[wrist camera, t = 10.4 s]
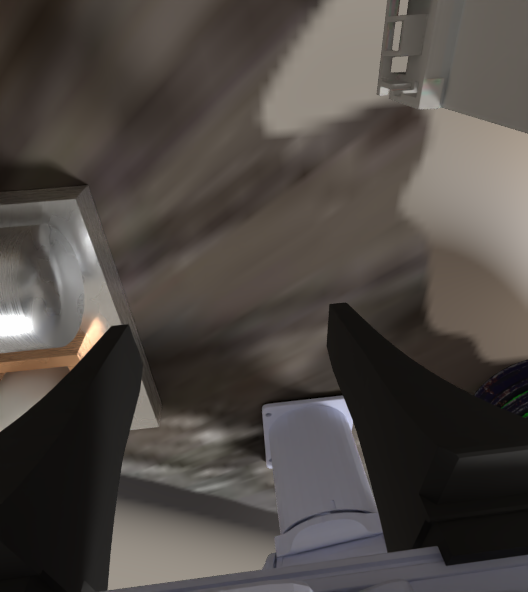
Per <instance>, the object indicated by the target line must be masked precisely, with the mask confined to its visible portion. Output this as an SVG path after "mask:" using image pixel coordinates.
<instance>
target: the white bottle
mask: <svg viewBox="0 0 528 592" xmlns="http://www.w3.org/2000/svg"><path fill="white" fill-rule="evenodd" d="M69 372H70V370H69V368H68V366H64V367H55V368H45V369H35V370H26V371H16V372H7V373H5V375H4V376H3V378H2V379H1V381H0V432H1V431H2V430H3V429H5V428H6V427H7V426H9V425H10V424H11V423H13V422H14V421H15V420H17V419H18V418H19V417H20V416H22V415H23V414H24V413H25V412H27V411H28V410H29V409H30V408H31V407H32V406H34V405H35V404H36V403H37V402H38V401H40V400H41V399H42V398H43V397H44V396H45V395H46V394H47V393H48V392H49V391H51V390H52V389H53V388H54V387H55V386H56V385H57V384H58V383H59V382H60V381H61V380H62V379H63V378H64V377H65V376H66V375H67V374H68V373H69Z"/></svg>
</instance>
